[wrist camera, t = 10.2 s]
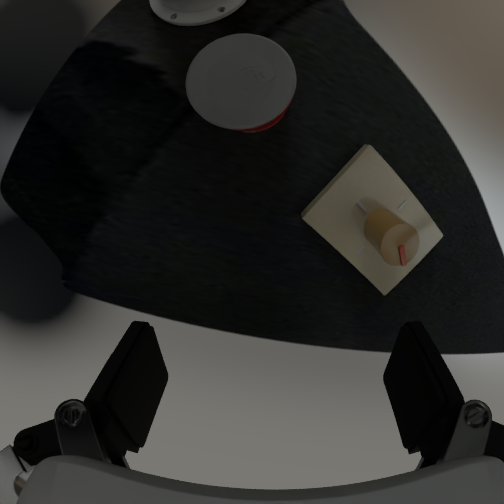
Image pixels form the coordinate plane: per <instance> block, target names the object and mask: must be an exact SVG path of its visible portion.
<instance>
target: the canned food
mask: <svg viewBox="0 0 504 504" xmlns="http://www.w3.org/2000/svg"><path fill="white" fill-rule="evenodd" d="M296 79H297V78H296V72H295V67H294V65H293V62H292V60H291V58H290V57H289V55H288V54H287V52H286V51H285V50H284V49H283V48H282V47H281V46H280V45H278V44H277V43H275V42H273V41H272V40H270V39H268V38H265V37H262V36H259V35H254V34H234V35H228V36H225V37H222V38H219V39H217V40H215V41H213V42H212V43H210V44H208V45H207V46H206V47H204V48H203V49H202V50H201V51H200V52H199V53H198V54H197V55H196V57H195V58H194V59H193V61H192V63H191V65H190V66H189V69H188V72H187V76H186V92H187V96H188V99H189V101H190V103H191V105H192V106H193V108H194V109H195V111H196V112H197V113H198V114H199V115H200V116H201V117H203V118H204V119H205V120H207V121H209V122H210V123H212V124H214V125H217V126H219V127H222V128H226V129H231V130H236V131H241V132H259V131H262V130H266V129H268V128H270V127H272V126H273V125H275V124H276V123H277V122H279V121H280V119H281V118H282V117H283V116H284V114H285V112H286V111H287V109H288V107H289V105H290V103H291V101H292V98H293V95H294V92H295V89H296Z"/></svg>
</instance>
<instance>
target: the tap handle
mask: <svg viewBox="0 0 504 504" xmlns="http://www.w3.org/2000/svg"><path fill="white" fill-rule="evenodd" d="M364 233H365V236H366V238H367V240H368V241H369V242H370V243H371V245H372V246H373V247H374V248H375V249H376V251H377V252H378V253H379V254H380V256H381V257H382V258H383V259H384V261H385V262H386V263H388V264H390V265H392V266H402V267H403V266H405V265H407V263H408V262H409V261H411V260H412V259H413V257H414V256H415V255H416V253H417V251H418V248H419V235H418V232H417V231H416V229H415V228H414V227H413V226H411V225H410V224H409V223H407V222H406V221H405V220H403V219H402V218H401V217H399V216H398V215H396V214H395V213H394V212H392V211H391V210H388V209H378V210H375V211H374V212H372V213H371V214H370V215H369V216H368V218H367V219H366V222H365V225H364Z"/></svg>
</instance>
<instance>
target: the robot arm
mask: <svg viewBox="0 0 504 504" xmlns="http://www.w3.org/2000/svg"><path fill="white" fill-rule="evenodd" d="M149 2H150V6H151V8H152V10H153V11H154V12H155V13H156V14H157V15H158V16H159V17H160V18H161V19H163V20H164V21H166V22H168V23H171V24H175V25H179V26H197V25H203V24H208V23H211V22H214V21H217V20H220V19H222V18H224V17H226V16H228V15H230V14H231V13H233V12H234V11H236V10H237V9H238V8H240V7H241V6H242V5H243V4H244V3H245V2H246V0H149ZM221 11H224V12H221ZM167 381H168V372H167V369H166V366H165V363H164V360H163V357H162V354H161V351H160V347H159V344H158V341H157V338H156V334H155V331H154V328H153V327H152V326H150V325H149V323H148V322H142V321H133V322H132V323H131V325H130V326H129V328H128V329H127V331H126V333H125V334H124V336H123V338H122V339H121V340H120V342H119V344H118V345H117V347H116V348H115V350H114V352H113V353H112V354H111V356H110V358H109V359H108V361H107V362H106V364H105V366H104V367H103V369H102V371H101V372H100V374H99V376H98V377H97V379H96V381H95V383H94V384H93V386H92V387H91V389H90V391H89V393H88V394H87V396H86V398H85V400H84V402H83V401H81V400H78V399H70V400H67V401H64V402H63V403H61V404H60V405H59V406H58V408H57V409H56V411H55V414H54V419H53V420H49V421H47V422H44V423H41V424H38V425H35V426H32V427H29V428H27V429H24V430H22V431H20V432H19V433H18V434H17V435H16V437H15V440H14V446H13V447H12V446H11V445H9V446H7V447H6V448H4V449H3V450H2V451H0V504H504V425H501V424H499V423H497V422H495V421H492V413H491V410H490V408H489V407H488V406H487V405H486V404H485V403H484V402H482V401H480V400H470V401H468V402H466V403H465V401H464V398H463V396H462V394H461V392H460V390H459V388H458V386H457V384H456V382H455V380H454V378H453V376H452V374H451V372H450V371H449V369H448V367H447V365H446V363H445V362H444V360H443V358H442V356H441V354H440V353H439V351H438V349H437V347H436V346H435V344H434V342H433V341H432V339H431V337H430V336H429V334H428V332H427V331H426V329H425V328H424V326H423V324H422V323H421V322H420V321H411V322H406V323H405V324H404V326H402V327H401V328H400V330H399V333H398V336H397V339H396V342H395V345H394V348H393V351H392V353H391V356H390V359H389V361H388V364H387V367H386V369H385V372H384V375H383V381H384V384H385V387H386V390H387V393H388V396H389V399H390V403H391V405H392V409H393V412H394V415H395V418H396V422H397V426H398V429H399V432H400V436H401V440H402V443H403V446H404V448H406V449H408V452H409V454H412V453H415V452H419V451H420V452H421V456H422V458H421V460H420V462H419V464H418V466H417V468H416V469H415V471H411V472H407V473H404V474H399V475H395V476H391V477H386V478H382V479H377V480H372V481H367V482H361V483H355V484H349V485H341V486H333V487H323V488H310V489H288V490H263V489H241V488H229V487H219V486H209V485H203V484H196V483H190V482H184V481H179V480H174V479H168V478H164V477H160V476H155V475H151V474H147V473H143V472H139V471H135V470H131V469H130V467H129V465H128V463H127V461H126V459H125V454H126V451H127V450H128V451H132V452H135V453H138V451H139V448H140V447H141V448H142V447H143V446H144V444H145V442H146V439H147V436H148V433H149V431H150V428H151V425H152V422H153V419H154V417H155V414H156V411H157V408H158V405H159V403H160V400H161V397H162V395H163V392H164V389H165V387H166V384H167Z"/></svg>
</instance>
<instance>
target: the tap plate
mask: <svg viewBox="0 0 504 504" xmlns="http://www.w3.org/2000/svg"><path fill="white" fill-rule="evenodd" d="M378 209H388V210H391V211H392V212H394V213H395V214H396V215H398V216H399V217H401V218H402V219H403V220H405V221H406V222H407V223H409V224H410V225H411V226H413V227H414V228H415V229H416V231H417V232H418V235H419V248H418V251H417V253H416V255H415V256H414V257H413V259H412V260H411V261H409V262H408V263H407V265H405V266H403V267H402V266H392V265H390V264H388V263H386V262H385V261H384V259H383V258H382V257H381V256H380V254H379V253H378V252H377V251H376V249H375V248H374V247H373V246H372V245H371V243H370V242H369V241H368V240H367V238H366V236H365V233H364V225H365V222H366V219H367V218H368V216H369V215H370V214H371V213H372V212H374V211H375V210H378ZM301 217H302V219H303V220H304V221H305V222H307V223H308V224H309V225H310V226H311V227H312V228H313V229H314V230H315V231H317V232H318V233H319V234H320V235H321V236H322V237H323V238H324V239H325V240H327V241H328V242H329V243H330V244H331V245H332V246H333V247H334V248H335V249H336V250H337V251H339V252H340V253H341V254H342V255H343V256H344V257H345V258H346V259H347V260H348V261H349V262H350V263H351V264H352V265H353V266H355V267H356V268H357V269H358V270H359V271H360V272H361V273H362V274H363V275H364V276H365V277H366V278H367V279H368V280H369V281H370V282H371V283H372V284H373V285H374V286H375V287H376V288H377V289H378V290H379V291H380V292H381V293H382V294H383V295H384V296H385V295H386V294H387V293H388V292H389V291H390V290H391V289H392V288H393V287H395V286H396V285H397V284H398V283H399V282H400V281H401V280H402V279H403V278H404V277H405V276H406V275H407V274H408V273H409V272H410V271H411V270H412V269H413V268H414V267H415V266H416V265H417V264H418V263H419V262H420V261H421V260H422V259H423V258H424V256H425V255H426V254H427V253H428V252H429V251H430V250H431V249H432V248H433V247H434V246H435V245H436V244H437V242H438V241H439V240H440V239H441V238H442V237H443V234H442V233H441V231H440V230H439V228H438V227H437V225H436V224H435V223H434V221H433V220H432V218H431V217H430V216H429V214H428V213H427V211H426V210H425V209H424V207H423V206H422V205H421V204H420V202H419V201H418V200H417V198H416V197H415V196H414V195H413V193H412V192H411V191H410V190H409V188H408V187H407V186H406V185H405V183H404V182H403V181H402V180H401V179H400V177H399V176H398V175H397V174H396V173H395V172H394V170H393V169H392V168H391V167H390V166H389V165H388V164H387V162H386V161H385V160H384V159H383V158H382V157H381V156H380V155H379V154H378V153H377V151H376V150H375V149H374V148H373V147H372V146H371V145H366V144H364V145H363V147H362V148H361V149H360V150H359V151H358V152H357V153H356V154H355V155H354V156H353V157H352V158H351V160H350V161H349V162H348V163H347V164H346V165H345V166H344V167H343V168H342V169H341V170H340V172H339V173H338V174H337V175H336V176H335V177H334V178H333V179H332V180H331V181H330V182H329V183H328V185H327V186H326V187H325V188H324V189H323V190H322V191H321V192H320V193H319V194H318V195H317V196H316V197H315V199H314V200H313V201H312V202H311V203H310V204H309V205H308V206H307V207H306V208H305V209H304V210H303V211H302V213H301Z"/></svg>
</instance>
